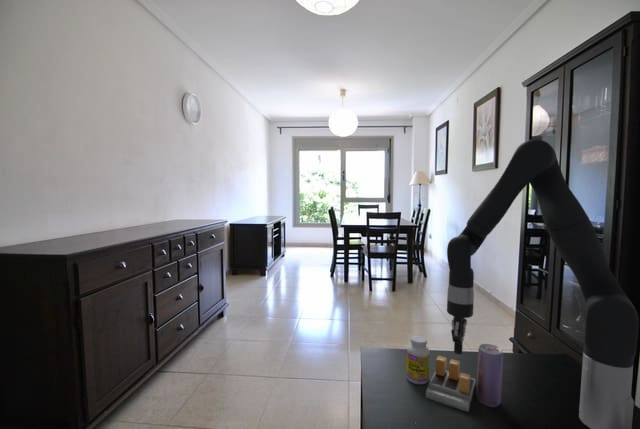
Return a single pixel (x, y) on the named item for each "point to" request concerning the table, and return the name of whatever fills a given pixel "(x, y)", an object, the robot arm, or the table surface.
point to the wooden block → (441, 365)
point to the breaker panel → (449, 391)
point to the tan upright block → (464, 383)
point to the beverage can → (489, 375)
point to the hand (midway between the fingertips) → (458, 352)
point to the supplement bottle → (418, 360)
